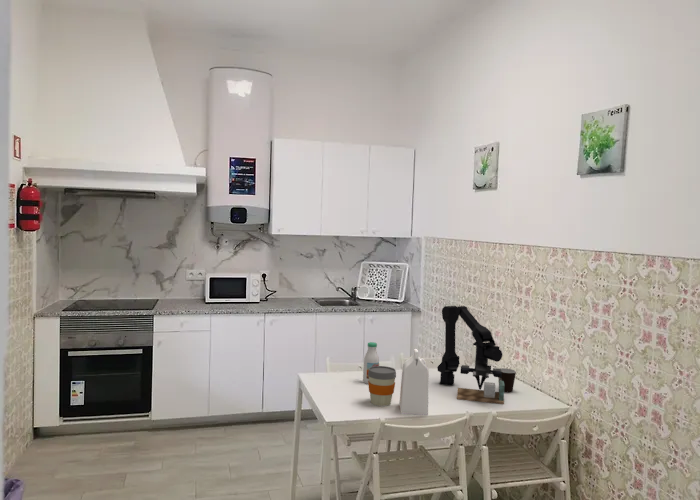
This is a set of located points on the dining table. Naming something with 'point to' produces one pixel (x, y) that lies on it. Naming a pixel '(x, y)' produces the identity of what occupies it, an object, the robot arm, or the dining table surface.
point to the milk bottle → (370, 360)
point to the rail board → (480, 399)
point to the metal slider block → (489, 390)
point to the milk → (414, 386)
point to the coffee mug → (508, 379)
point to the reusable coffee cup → (381, 384)
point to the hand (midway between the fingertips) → (479, 389)
